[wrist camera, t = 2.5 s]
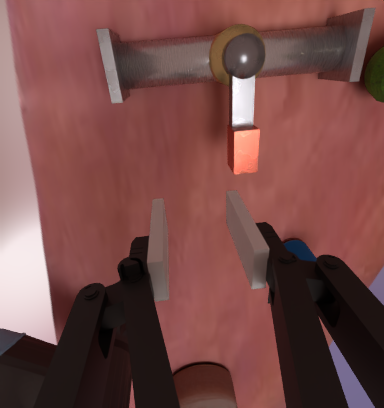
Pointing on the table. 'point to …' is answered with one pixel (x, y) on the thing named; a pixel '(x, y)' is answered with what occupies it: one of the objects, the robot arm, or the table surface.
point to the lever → (242, 100)
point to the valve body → (213, 47)
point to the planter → (205, 387)
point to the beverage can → (300, 250)
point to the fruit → (375, 75)
